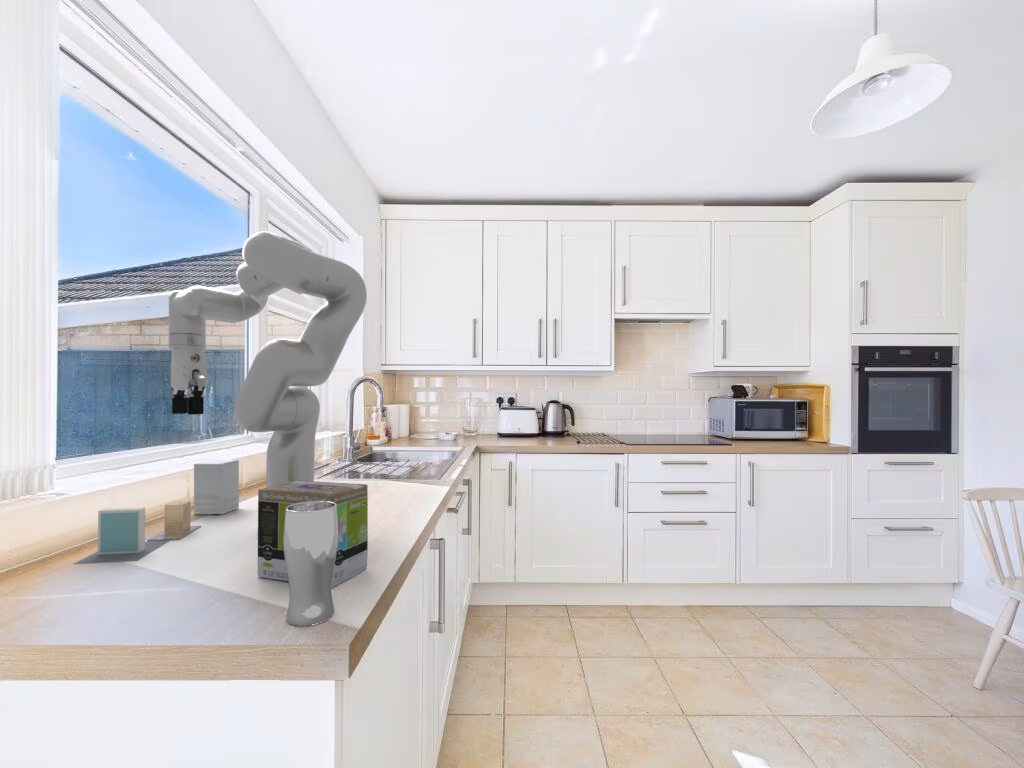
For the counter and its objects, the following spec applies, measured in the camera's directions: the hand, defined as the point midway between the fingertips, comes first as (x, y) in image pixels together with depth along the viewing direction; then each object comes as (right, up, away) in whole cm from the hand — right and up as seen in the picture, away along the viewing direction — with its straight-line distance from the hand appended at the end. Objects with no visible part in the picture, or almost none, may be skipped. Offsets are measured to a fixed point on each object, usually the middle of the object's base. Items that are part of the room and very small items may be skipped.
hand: (187, 413), depth 121 cm
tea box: (+44, -25, -36) cm, 63 cm away
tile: (+5, -24, -27) cm, 37 cm away
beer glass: (+50, -25, -52) cm, 77 cm away
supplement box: (+3, -25, +6) cm, 26 cm away
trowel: (+7, -25, -14) cm, 29 cm away
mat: (+5, -25, -26) cm, 37 cm away
